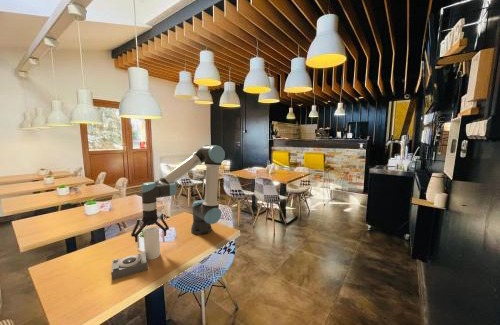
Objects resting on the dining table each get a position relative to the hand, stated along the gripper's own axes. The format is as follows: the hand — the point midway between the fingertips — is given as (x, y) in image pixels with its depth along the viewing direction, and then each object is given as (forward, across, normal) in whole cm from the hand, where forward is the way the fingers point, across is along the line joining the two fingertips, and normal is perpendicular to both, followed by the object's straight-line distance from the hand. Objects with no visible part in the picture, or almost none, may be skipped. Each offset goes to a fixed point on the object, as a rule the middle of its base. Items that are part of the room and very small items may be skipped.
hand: (151, 244), depth 128 cm
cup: (+8, 0, 0) cm, 8 cm away
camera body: (+8, +12, +8) cm, 16 cm away
